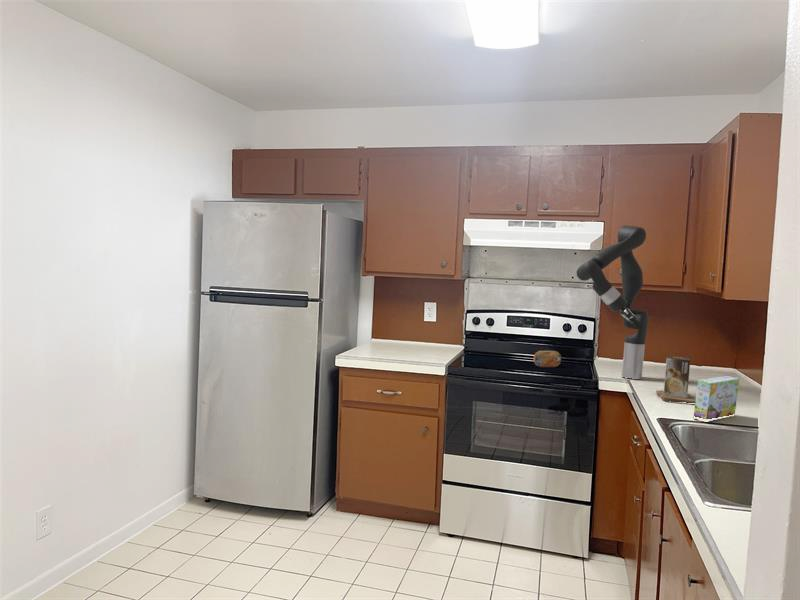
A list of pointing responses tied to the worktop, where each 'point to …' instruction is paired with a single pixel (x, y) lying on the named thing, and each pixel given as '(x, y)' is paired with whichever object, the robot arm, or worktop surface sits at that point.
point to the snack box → (716, 397)
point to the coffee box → (676, 377)
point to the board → (675, 398)
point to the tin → (547, 358)
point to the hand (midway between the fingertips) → (638, 326)
